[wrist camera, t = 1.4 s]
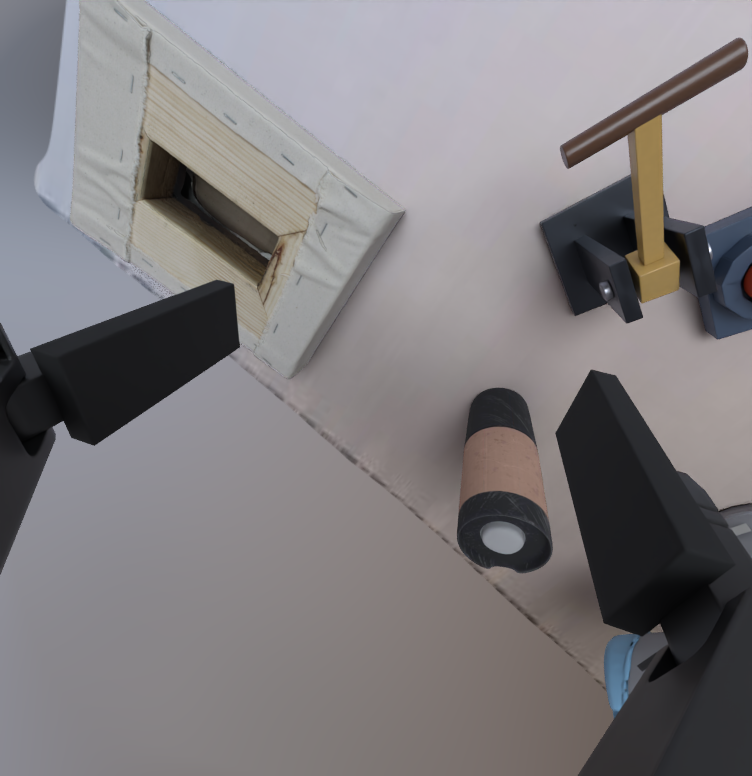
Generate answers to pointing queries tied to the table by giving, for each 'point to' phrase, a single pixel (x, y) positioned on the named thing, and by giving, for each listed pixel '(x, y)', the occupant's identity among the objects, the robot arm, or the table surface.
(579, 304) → the tap bracket
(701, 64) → the tap lever
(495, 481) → the travel mug
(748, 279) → the red button
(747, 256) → the button box
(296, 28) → the table surface
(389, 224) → the box
